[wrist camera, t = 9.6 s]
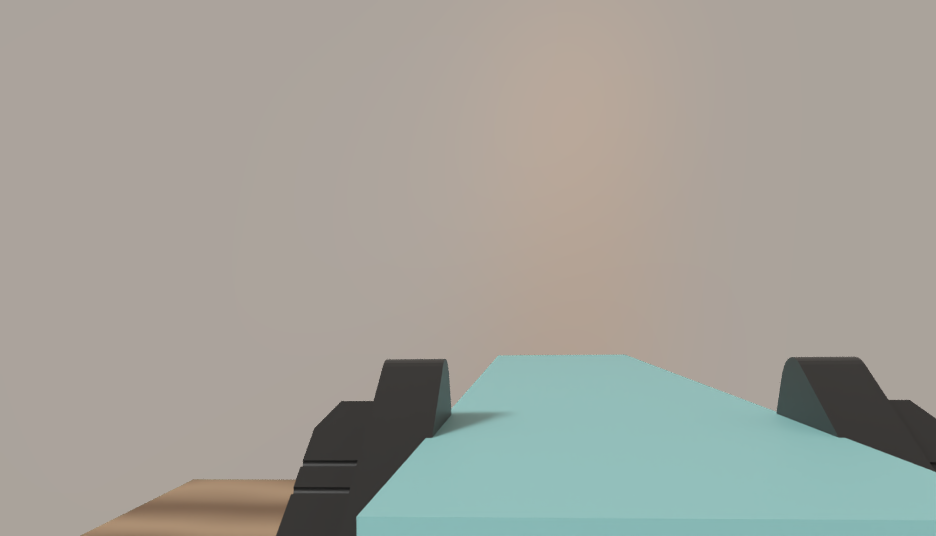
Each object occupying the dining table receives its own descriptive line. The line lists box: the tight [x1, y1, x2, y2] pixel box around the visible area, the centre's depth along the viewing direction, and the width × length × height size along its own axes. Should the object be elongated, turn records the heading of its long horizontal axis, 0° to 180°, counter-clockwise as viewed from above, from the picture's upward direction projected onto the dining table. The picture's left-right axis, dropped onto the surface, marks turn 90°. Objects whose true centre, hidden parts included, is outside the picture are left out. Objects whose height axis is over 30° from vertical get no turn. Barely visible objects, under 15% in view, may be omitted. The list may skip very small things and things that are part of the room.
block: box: [357, 355, 936, 536], centre depth 16 cm, size 22×4×3 cm, turn 176°
